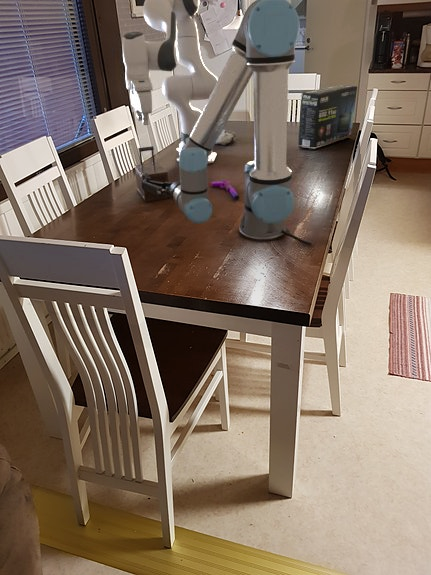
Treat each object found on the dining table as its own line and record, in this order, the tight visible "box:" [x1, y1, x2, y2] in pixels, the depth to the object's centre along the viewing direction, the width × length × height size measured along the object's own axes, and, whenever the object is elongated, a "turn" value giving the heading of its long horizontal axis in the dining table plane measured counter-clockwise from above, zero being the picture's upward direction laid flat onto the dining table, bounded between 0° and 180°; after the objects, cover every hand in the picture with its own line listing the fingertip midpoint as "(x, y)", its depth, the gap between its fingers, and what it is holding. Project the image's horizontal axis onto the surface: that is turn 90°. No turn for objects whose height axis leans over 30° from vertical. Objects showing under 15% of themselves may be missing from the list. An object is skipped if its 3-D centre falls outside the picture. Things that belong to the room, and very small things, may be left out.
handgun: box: [210, 180, 240, 201], centre depth 183 cm, size 21×8×2 cm, turn 11°
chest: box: [134, 168, 171, 203], centre depth 182 cm, size 14×10×10 cm
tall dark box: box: [133, 145, 169, 178], centre depth 178 cm, size 15×10×8 cm
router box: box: [297, 84, 358, 151], centre depth 238 cm, size 36×11×27 cm, turn 134°
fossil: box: [215, 128, 237, 146], centre depth 254 cm, size 18×11×15 cm
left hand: (142, 122), depth 175 cm, fingers open, 8 cm apart
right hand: (165, 175), depth 155 cm, fingers open, 13 cm apart
